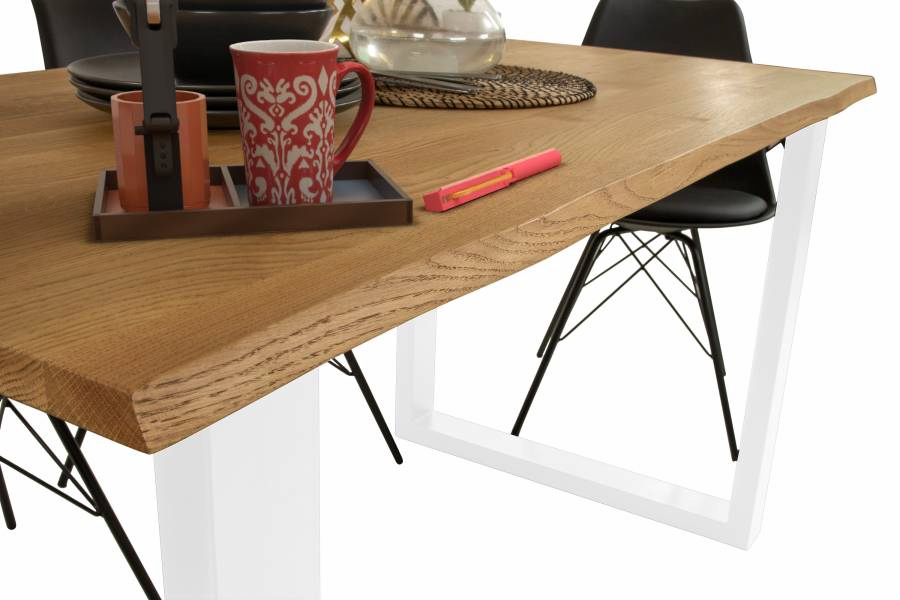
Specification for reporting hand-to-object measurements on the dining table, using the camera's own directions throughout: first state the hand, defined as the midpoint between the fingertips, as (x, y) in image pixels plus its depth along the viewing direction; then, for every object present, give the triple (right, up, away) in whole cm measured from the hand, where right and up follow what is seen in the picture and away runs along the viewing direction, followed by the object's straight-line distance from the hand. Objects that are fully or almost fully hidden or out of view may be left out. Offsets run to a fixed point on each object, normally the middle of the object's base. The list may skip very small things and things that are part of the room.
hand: (165, 200), depth 85 cm
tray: (+7, -1, +2) cm, 7 cm away
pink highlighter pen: (+29, +2, +13) cm, 31 cm away
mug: (+12, 0, +4) cm, 12 cm away
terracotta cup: (0, 0, 0) cm, 0 cm away
